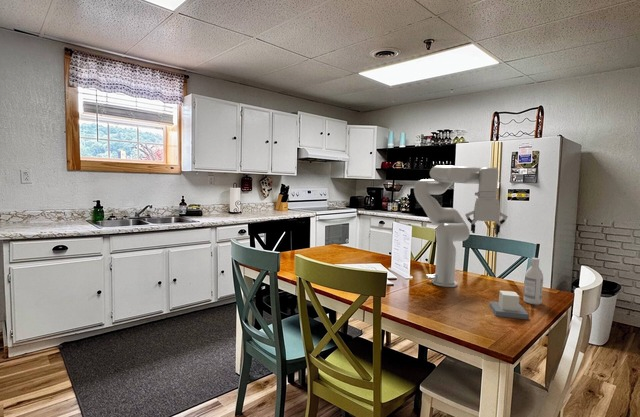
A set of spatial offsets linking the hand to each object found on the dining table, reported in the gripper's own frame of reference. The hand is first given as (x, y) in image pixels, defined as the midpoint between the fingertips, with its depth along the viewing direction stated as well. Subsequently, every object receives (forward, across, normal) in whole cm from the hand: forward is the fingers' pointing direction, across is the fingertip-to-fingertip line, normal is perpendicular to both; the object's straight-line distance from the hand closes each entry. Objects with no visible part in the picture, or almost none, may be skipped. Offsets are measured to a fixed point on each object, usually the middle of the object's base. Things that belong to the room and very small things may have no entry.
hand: (484, 233), depth 160 cm
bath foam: (+31, +22, +3) cm, 38 cm away
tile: (+30, +8, -14) cm, 34 cm away
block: (+28, +8, -14) cm, 33 cm away
